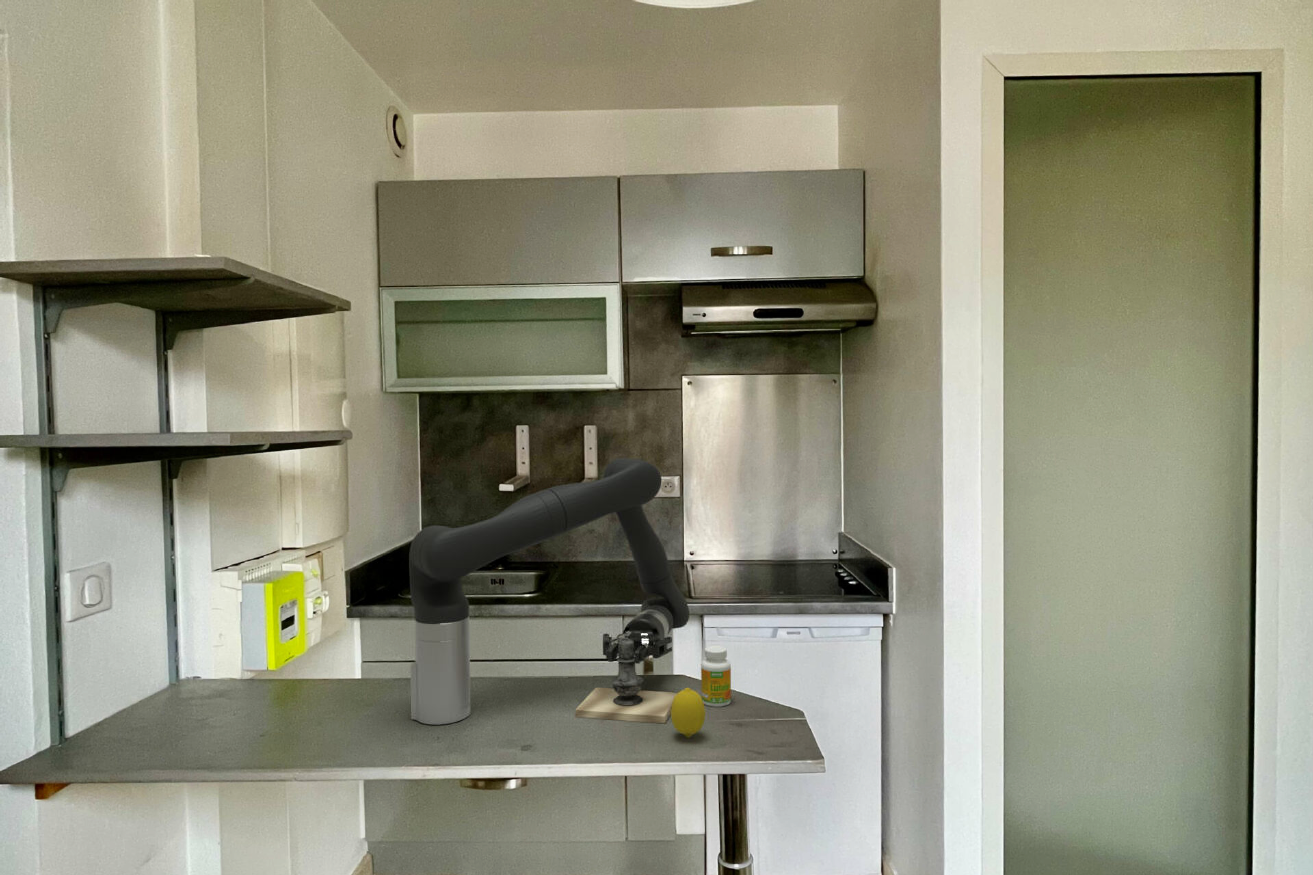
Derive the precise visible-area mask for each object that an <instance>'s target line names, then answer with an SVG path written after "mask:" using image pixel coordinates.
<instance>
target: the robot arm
mask: <svg viewBox="0 0 1313 875" xmlns="http://www.w3.org/2000/svg"><path fill="white" fill-rule="evenodd" d="M662 482H663V480H662V474H661V472H660V471H659V469H658V468H657V467H656V466H655V465H653V463H650V462H649V461H646V460H642V459H635V458H628V457H618V458H615V459H612V460H611V461H610V462H609V463H608V464H607V465H606V467H605V470H604V472H603V477H602V478H600V479H596V480H591V481H585V482H574V483H566V484H562V485H556V486H552V487H549V488H546V489H543V490H540V491H537V492H535V493H531V494H529V495H526V496H524V497H522V498H520V499H519V500H517V501H515V502H514V503H512V504H510V506H508V507H506V508H505V509H504V510H503V511H502V512H500V513H498V514H497V515H495V516H493V517H491V518H489V519H486V520H482V521H478V522H476V523H472V524H469V525H464V526H460V527H455V528H454V527H448V526H443V525H437V524H436V525H430V526H426V527H424V528H422V529H421V530H420V531H418V532H417V534H416V535H415V536H414V537H413V540H412V541H411V544H410V547H409V548H410V549H409V554H408V556H409V557H408V561H409V562H408V566H409V567H408V568H409V588H410V599H411V603H412V606H413V610H414V639H415V640H414V642H415V644H414V645H415V646H414V647H415V661H414V662H412V663H411V664H410V720H416V721H417V722H420V723H422V724H425V725H447V724H452V723H456V722H459V721H462V720H464V719H466V718H467V717H469V716H470V715H471V703H472V702H471V660H470V659H471V654H470V653H471V652H470V650H471V649H470V647H471V645H470V642H471V641H470V639H471V638H470V637H471V636H470V603H469V600H468V598H467V596H466V594H465V592H464V590H463V586H462V580H461V579H462V578H463V577H466V576H469V575H470V574H472V573H474V572H475V571H477V570H479V569H481V568H482V567H484V566H486V565H489V564H490V563H492V562H494V561H496V560H497V559H501V558H502V557H505V556H507V555H511V554H513V553H515V552H520V551H521V550H525V549H528V548H530V547H533V546H536V545H538V544H541V543H543V542H547V541H549V540H552V539H554V538H556V537H558V536H559V537H560V536H561V535H564V534H566V533H569V532H571V531H573V530H575V529H578V528H580V527H582V526H585V525H587V524H589V523H592V522H594V521H595V520H598V519H601V518H603V517H605V516H608V515H611V514H614V513H615V514H616V516H617V519H618V521H619V523H620V526H621V528H622V531H623V533H624V535H625V538H626V541H627V542H628V546H629V549H630V551H631V555H632V559H633V561H634V565H635V569H636V573H637V576H638V580H639V584H640V587H641V589H642V591H643V592H644V593H646V594H649V595H657V596H658V597H651V598H648V599H646V600H644V601H643V602H642V603H641V606H640V612H639V613H638V614H636V615H635V617H633V618H632V619H631V620H630V621H629V622H628V623H627V624H626V626H625V627H624V629H623V631H622V632H621V633H619V634H618V635H616V637H612V635H610V633H603V634H602V655H603V656H605V658H606V660H607V662H608V663H613V662H615V661H616V660H617V658H619V654H618V642H619V641H620V640H621V639H623V638H625V636H624V635H625V633H626V634H627V635H628V636H627V638H629V639H632V640H633V642H634V656H635V664H641V662H644V661H645V660H648V659H650V657H652V658H653V659H659V658H661V657H663V656H665V655H667V654H669V653H671V652H672V651H673V637H671V636H668V635H669V634H670V632H672V629H680V628H683V627H685V626H686V625H687V623H688V622H689V620H690V609H689V605H688V603H687V601H686V599H685V597H684V595H683V594H682V592H681V591H680V588H679V587H678V585H677V584H676V582H675V580H674V577H673V575H672V572H671V568H670V564H669V560H668V556H667V553H666V550H665V548H664V546H663V543H662V541H661V539H660V538H659V536H658V535H657V534H656V532H655V530H654V528H653V527H652V525H651V523H650V522H649V520H648V518H647V516H646V513H645V511H644V509H643V505H646V504H648V503H649V502H651V501H652V500H653V499H655V497H656V496H657V495H658V493H660V489H661V486H662ZM659 596H660V597H659Z"/></svg>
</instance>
